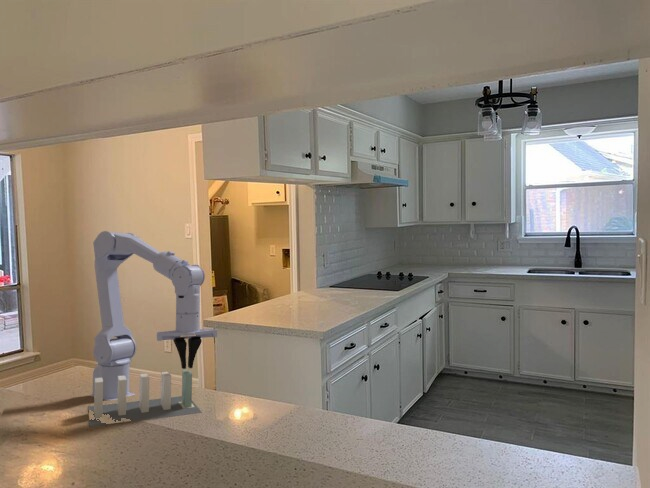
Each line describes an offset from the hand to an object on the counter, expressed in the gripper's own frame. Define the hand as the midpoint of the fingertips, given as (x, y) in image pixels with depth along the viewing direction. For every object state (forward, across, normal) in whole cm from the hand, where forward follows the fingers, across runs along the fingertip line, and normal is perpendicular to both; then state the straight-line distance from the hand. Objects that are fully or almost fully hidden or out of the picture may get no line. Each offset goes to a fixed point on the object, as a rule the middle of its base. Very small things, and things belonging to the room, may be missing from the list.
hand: (187, 367), depth 123 cm
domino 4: (+9, -5, 0) cm, 10 cm away
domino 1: (+9, -20, 0) cm, 22 cm away
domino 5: (+9, 0, 0) cm, 9 cm away
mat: (+9, -10, 0) cm, 14 cm away
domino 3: (+9, -10, 0) cm, 13 cm away
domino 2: (+9, -15, 0) cm, 17 cm away
